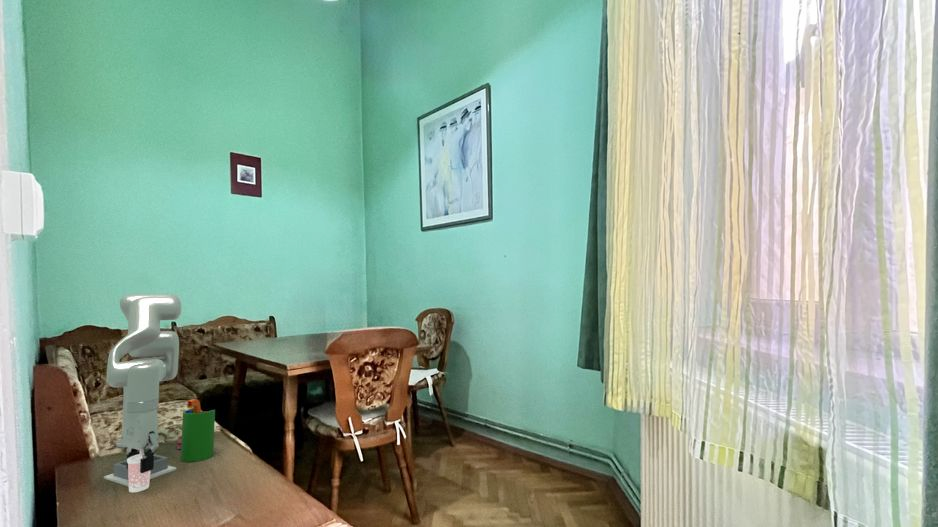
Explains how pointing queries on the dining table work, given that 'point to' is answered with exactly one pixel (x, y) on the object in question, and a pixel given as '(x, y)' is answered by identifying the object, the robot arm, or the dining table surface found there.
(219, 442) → the dining table surface
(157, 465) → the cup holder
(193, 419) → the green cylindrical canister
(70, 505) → the dining table surface
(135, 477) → the beverage cup
